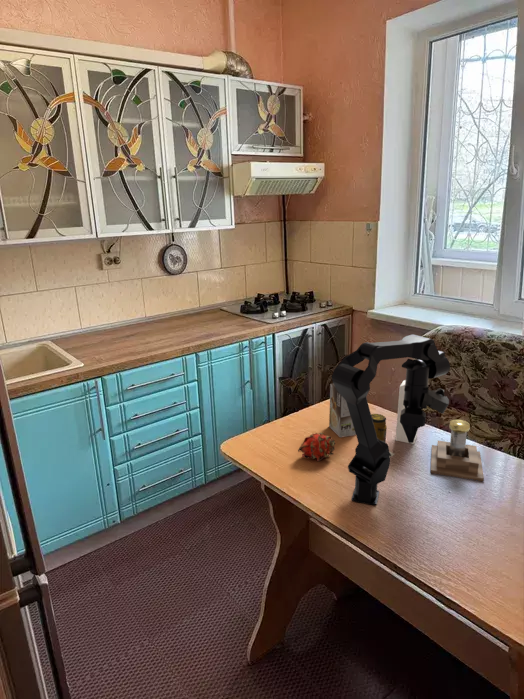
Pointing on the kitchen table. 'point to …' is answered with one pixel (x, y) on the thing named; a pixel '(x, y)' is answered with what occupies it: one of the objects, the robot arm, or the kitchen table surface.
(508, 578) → the kitchen table surface
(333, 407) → the coffee box
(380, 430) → the condiment
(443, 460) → the block
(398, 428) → the milk
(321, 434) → the dragon fruit
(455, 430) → the pin
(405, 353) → the robot arm
